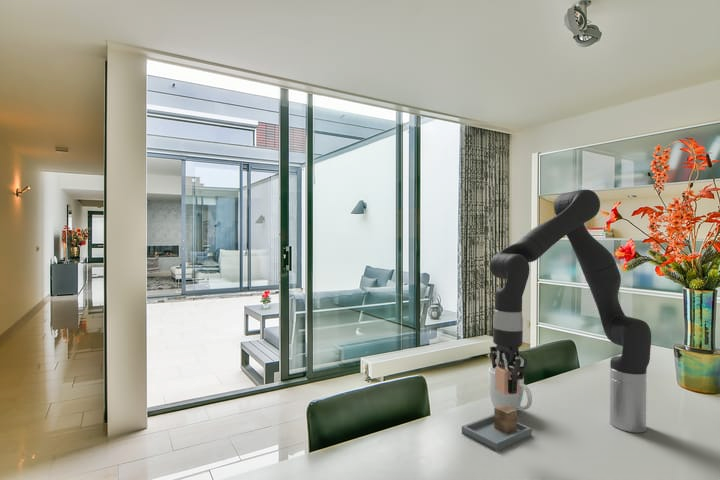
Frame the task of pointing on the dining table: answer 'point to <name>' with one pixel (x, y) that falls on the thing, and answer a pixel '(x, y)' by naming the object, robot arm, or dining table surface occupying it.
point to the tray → (494, 433)
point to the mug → (509, 399)
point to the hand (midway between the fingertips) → (506, 389)
